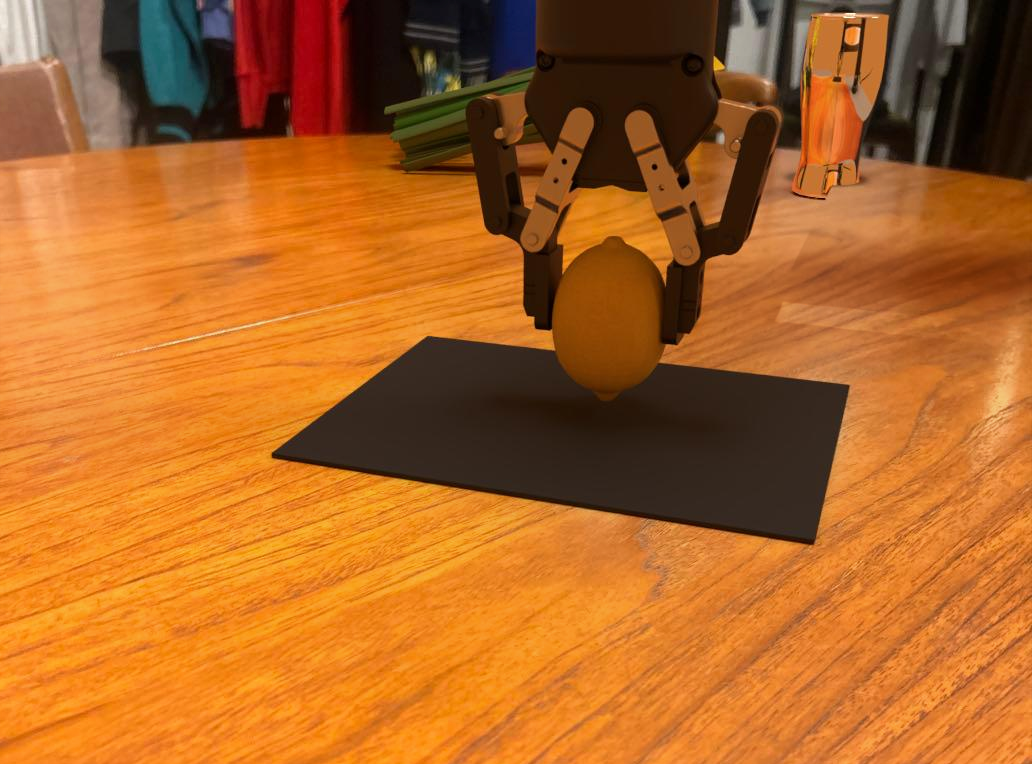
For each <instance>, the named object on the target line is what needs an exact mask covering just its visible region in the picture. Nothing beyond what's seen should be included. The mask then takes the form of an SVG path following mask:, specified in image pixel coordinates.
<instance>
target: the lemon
mask: <svg viewBox="0 0 1032 764" xmlns="http://www.w3.org/2000/svg"><path fill="white" fill-rule="evenodd" d="M665 287H666V282H665V280H664V278H663V274H662V273H661V270H660V269H659V268H658V266H657V265H656V263H655V262H654V261H653V260H652V259H651V257H649V256H648V255H647V253H645V252H643V251H642V250H640V249H638V248H636V247H634V246H632V245H630V244H628V243H627V242H626V241H625V240H624V238H623V237H622V236H618V235H609V236H607V237H605V239H604V240H603V241H602V242H601V243H599V244H596V245H593V246H592V247H589V248H586V249H585V250H584V251H582V252H581V253H579V254H578V255H577V256H576V257H575V258H574V259H573V260H572V261H571V262H570V263H569V264H568V266H567V267H566V268H565V270H564V272H563V274H562V277H561V279H560V282H559V285H558V288H557V291H556V295H555V299H554V304H553V311H552V330H551V334H552V341H553V346H554V350H555V351H556V355H557V357H558V360H559V362H560V364H561V365H562V367H563V368H564V370H565V371H566V373H567V374H568V375H569V376H570V377H571V378H572V379H573V380H574V381H575V382H577V383H578V384H580V385H582V386H583V387H586V388H589V389H591V390H592V391H593V392H594V393H595V394H596V396H597V397H598V398H599V399H600V400H602V401H611V400H613V399H614V398H615V397H616V396H617V395H618V394H619V393H620V392H621V391H623V390H626V389H630V388H632V387H634V386H636V385H637V384H639V383H641V382H642V381H643V380H645V379H646V378H647V377H648V376H649V375H650V373H651V372H652V371H653V370H654V369H655V367H656V366H657V364H658V363H660V361H661V359H662V357H663V354H664V351H665V348H666V345H667V344H662V328H663V315H664V301H665Z"/></svg>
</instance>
